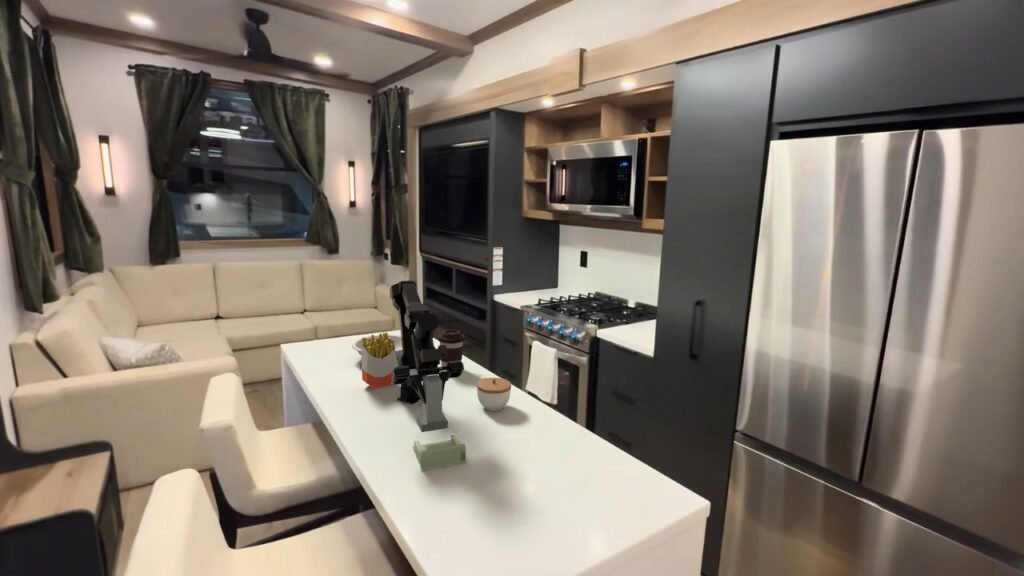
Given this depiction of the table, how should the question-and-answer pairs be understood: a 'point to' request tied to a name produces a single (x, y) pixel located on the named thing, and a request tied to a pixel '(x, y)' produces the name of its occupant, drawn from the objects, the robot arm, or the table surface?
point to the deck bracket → (440, 453)
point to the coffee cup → (452, 345)
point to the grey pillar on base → (432, 406)
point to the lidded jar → (493, 393)
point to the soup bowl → (396, 338)
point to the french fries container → (378, 360)
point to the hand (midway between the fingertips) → (433, 402)
